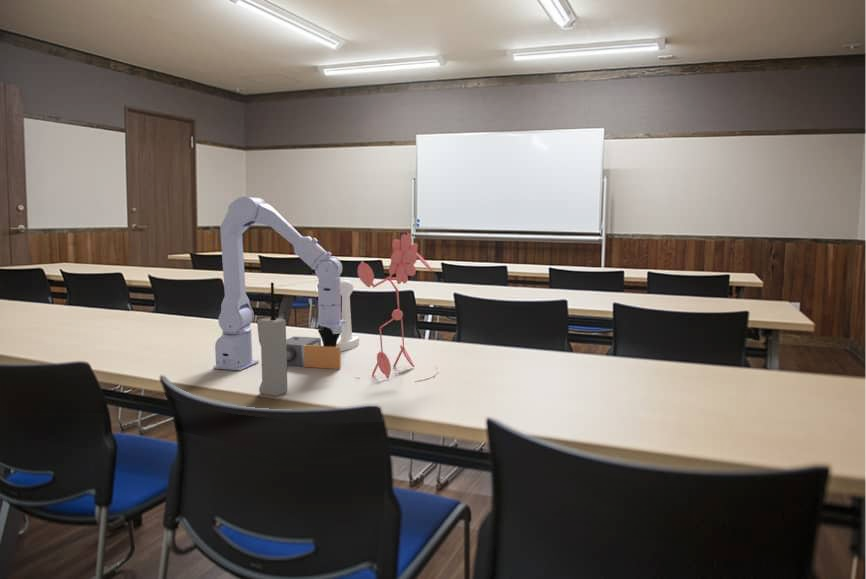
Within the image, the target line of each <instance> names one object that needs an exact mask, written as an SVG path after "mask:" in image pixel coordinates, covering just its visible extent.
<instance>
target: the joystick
mask: <svg viewBox="0 0 866 579" xmlns="http://www.w3.org/2000/svg"><path fill="white" fill-rule="evenodd" d="M340 286H341V320H345V323H344V324H341V334H340V337H338V340H337V343H336V347H340V351H341V352H344V351H349V350H352V349H354V348H357V347H358V346H359V345H360V337H359V336H353V334H352V333H353V331H352V318H351V317H352V314H351V298H350V297H351V295H352V293H353V292H354V284H353V283H352V281H350V280H348V279H347V280H346V279H344V280H342V281H340Z"/></svg>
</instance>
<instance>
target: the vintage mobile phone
mask: <svg viewBox="0 0 866 579" xmlns="http://www.w3.org/2000/svg"><path fill="white" fill-rule="evenodd" d="M270 300H271V301H270V302H271V303H270V317H265V318H259V319H257V320H256V324H257V333H258V334H257V335H258V342H259V345H260V355H261V357H260V358H261V383H260V386H259V388H258V392H259V394H261V395H265V396H271V397H279V396H281V394H282V395H284V394H287V393H288V390H289V389H288V365H287V351H286V339H287V329H286V328H287V324H286V323H287V320H286V319H284V318H276V304H275V283H274V282H270Z"/></svg>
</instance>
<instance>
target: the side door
mask: <svg viewBox="0 0 866 579" xmlns="http://www.w3.org/2000/svg"><path fill="white" fill-rule="evenodd" d="M341 352H342V351H340V347H332V346H323V345H321V346H315V345H302V366H301V367H304V368H317V369H318V368H320V369H334V370H340V369H341V368H342V367H341V366H342V362H341V361H342V360H341V358H342V357H341Z"/></svg>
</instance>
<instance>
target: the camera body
mask: <svg viewBox="0 0 866 579" xmlns="http://www.w3.org/2000/svg"><path fill="white" fill-rule="evenodd" d="M302 345H315V346H322V338H321V337H311V336H299V335H295V336H292V337H289V338H286V351H287V366H297V367H298V366H299V367H302Z"/></svg>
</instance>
